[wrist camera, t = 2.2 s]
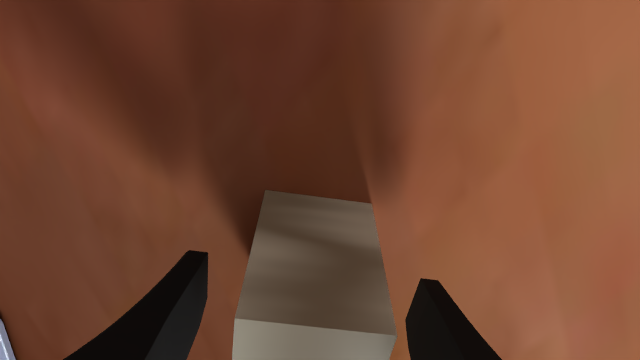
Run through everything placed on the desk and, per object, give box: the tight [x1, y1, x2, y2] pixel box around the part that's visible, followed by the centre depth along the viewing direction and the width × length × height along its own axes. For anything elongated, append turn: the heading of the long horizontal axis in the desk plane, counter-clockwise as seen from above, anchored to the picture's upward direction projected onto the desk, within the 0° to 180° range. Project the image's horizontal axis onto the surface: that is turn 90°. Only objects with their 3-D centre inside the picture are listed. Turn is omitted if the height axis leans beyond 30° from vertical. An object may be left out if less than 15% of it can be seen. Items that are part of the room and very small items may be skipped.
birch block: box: [232, 190, 397, 360], centre depth 13 cm, size 4×4×6 cm
